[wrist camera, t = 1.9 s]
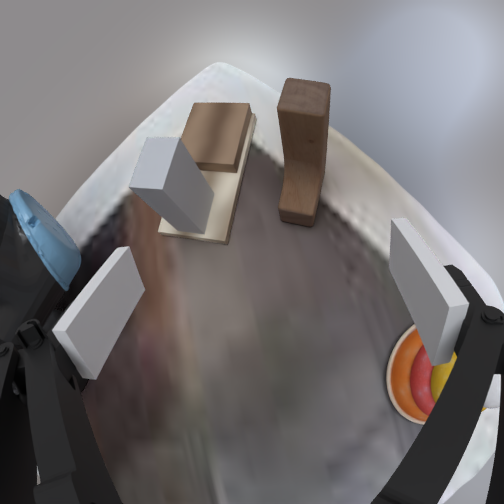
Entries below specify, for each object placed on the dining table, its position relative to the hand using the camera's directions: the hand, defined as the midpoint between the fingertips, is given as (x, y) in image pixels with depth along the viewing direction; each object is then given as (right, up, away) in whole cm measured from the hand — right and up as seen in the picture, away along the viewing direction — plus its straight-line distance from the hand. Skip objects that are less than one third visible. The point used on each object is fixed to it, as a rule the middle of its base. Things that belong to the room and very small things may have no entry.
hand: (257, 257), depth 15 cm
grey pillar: (-8, +6, +29) cm, 30 cm away
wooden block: (+7, +8, +29) cm, 30 cm away
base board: (-6, +12, +32) cm, 34 cm away
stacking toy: (+23, -15, +20) cm, 34 cm away
